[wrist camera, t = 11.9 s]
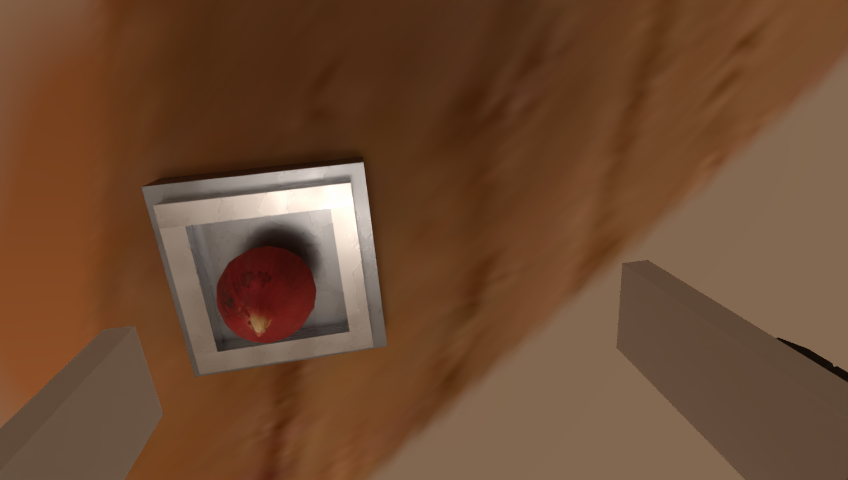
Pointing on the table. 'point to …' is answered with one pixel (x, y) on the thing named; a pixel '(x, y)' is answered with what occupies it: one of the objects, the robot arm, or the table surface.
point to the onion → (266, 294)
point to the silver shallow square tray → (278, 227)
